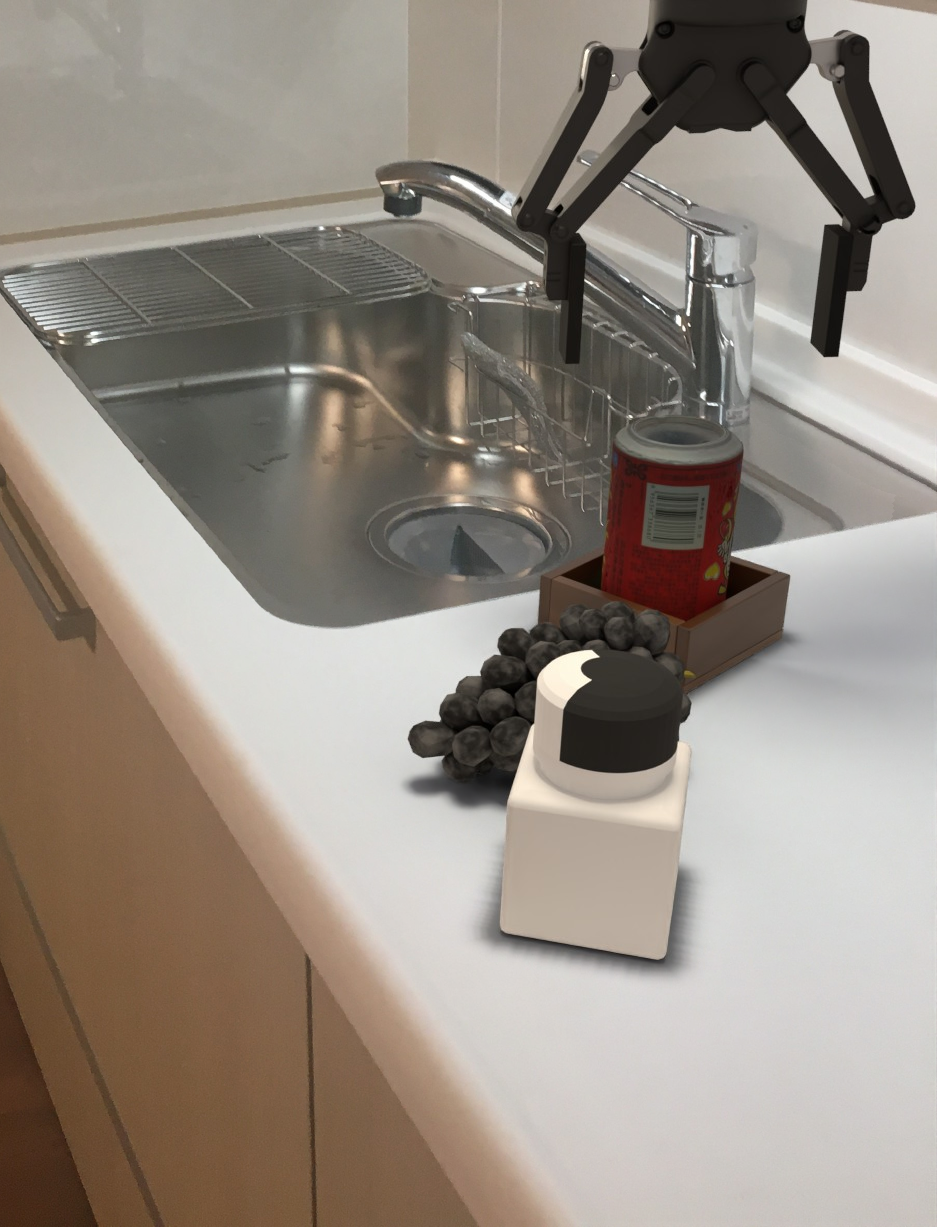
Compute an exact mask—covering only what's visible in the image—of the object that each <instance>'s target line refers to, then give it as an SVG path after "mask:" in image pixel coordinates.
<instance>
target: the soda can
mask: <svg viewBox="0 0 937 1227" xmlns="http://www.w3.org/2000/svg"><path fill="white" fill-rule="evenodd" d="M611 451H612V452H611V462H610V473H609V475H610V476H609V486H608V487H609V490H608V500H607V509H606V510H607V511H606V521H605V522H606V523H605V534H604V545H603V546H604V557H603V568H602V582H601V591H604V592H607V593H609V594H612V595H615V596H618V597H620V598H623V599H626V600H629V601H631V602H634V603H637V604H640V605H642V606H645V607H648V608H651V609H653V610H658V611H660V612H662V613H664V614H667V615H670V616H673V617H675V618H678V619H681V620H684V621H685V622H686V621H688V620H690V619H692V618H694V617H695V616H697V615H699V614H701V613H703V612H705V611H707V610H708V609H710V608H712V607H714V606H716V605H718V604H719V603H721V602H723V601H725V600H726V591H727V583H728V575H729V567H730V559H731V556H732V551H733V542H734V532H735V524H736V517H737V509H738V508H737V507H738V501H739V494H740V493H739V492H740V487H741V480H742V479H741V477H742V468H743V461H744V460H743V459H744V452H745V450H744V444H743V441H742V440H741V439H740V438H739V437H738V436H737V434H735V433H734V432H733V431H731V430H730V429H728V428H727V427H726V426H724V425H723V424H722V423H720V422H718V421H716V420H713V419H708V418H703V417H700V416H695V415H691V414H667V415H662V416H656V415H651V416H646V417H643V418H639V419H637V420H635V421H633V422H632V423H630V424H628V425H626V426H624V427H623V428H621V429H620V430H619V431H618V432H617V434H616V435H615V436H614V437H613V441H612V450H611Z"/></svg>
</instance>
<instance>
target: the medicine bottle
mask: <svg viewBox="0 0 937 1227" xmlns="http://www.w3.org/2000/svg"><path fill="white" fill-rule="evenodd" d="M682 702H683V688H682V685H681V683H680V682H679V681H678V679H677V678H676V677H675V676H674V674H673V673H672V672H671V671H670V670H669V669H668V668H666V667H665V666H663V665H662V664H660V663H658V662H656V661H654V660H652V659H649V658H647V657H644V656H641V655H637V654H633V653H629V652H624V651H617V650H585V651H578V652H573V653H569V654H566V655H563V656H561V657H558V658H556V659H555V660H553V661H552V662H551V663H549V664H548V665H547V666H546V667H545V668H544V669H543V670H542V671H541V672H540V674H539V676H538V678H537V692H536V707H535V721H534V724H533V725H532V726H531V728H530V731H529V734H528V738H527V741H526V744H525V747H524V750H523V754H522V757H521V760H520V763H519V766H518V770H517V773H515V777H514V779H513V783H512V785H511V789H510V792H509V796H508V797H507V798H508V799H507V800H506V801H507V804H506V816H505V835H504V850H503V851H504V852H503V864H502V866H503V868H502V884H501V898H500V900H501V901H500V915H499V927H500V930H501V931H502V932H503V933H505V934H509V935H514V936H520V937H525V938H530V939H531V938H532V939H537V940H543V941H548V942H552V943H553V942H554V943H559V944H560V943H561V944H565V945H571V946H576V947H577V946H578V947H583V948H588V949H594V950H599V951H604V952H606V951H607V952H612V953H617V954H623V955H629V956H633V957H634V956H635V957H639V958H645V959H651V960H658V961H659V960H661V959H664V958H665V956H666V954H667V951H668V944H669V937H670V929H671V924H672V923H671V922H672V917H673V916H672V915H673V907H674V901H675V894H676V885H677V879H678V872H679V864H680V855H681V847H682V838H683V830H684V821H685V812H686V806H687V805H686V804H687V797H688V796H687V795H688V786H689V779H690V768H691V762H692V761H691V760H692V753H693V751H692V748H691V745H690V744H689V743H688V742H685V741H680V740H679V741H678V737H679V738H680V727H681V723H680V720H681V711H682Z"/></svg>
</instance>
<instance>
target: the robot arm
mask: <svg viewBox="0 0 937 1227" xmlns="http://www.w3.org/2000/svg"><path fill="white" fill-rule="evenodd" d="M807 7H808V0H649V5H648V18H647V29H646V32H645V36H644V38H643V41H642V42H641V44H640V45H639V47H638V48H634V47H621V46H608V45H605V44H604V43H603V42H601V41H599V40H591V41H589V42H587V43H586V44H585V45H584V46H583V49H582V52H581V56H580V63H579V68H578V75H577V80H576V86H575V88H574V90H573V92H571V95H570V97H569V99H568V101H567V103H566V104H565V106H564V109H563V110H562V112H561V113H560V116H559V118H558V120H557V122H556V123H555V125H554V127H553V129H552V131H551V132H550V134H549V136H548V139H547V140H546V142H545V144H544V146H543V148H542V149H541V151H540V153H539V155H538V157H537V158H536V161H535V163H534V165H533V167H532V168H531V170H530V171H529V173H528V176H527V178H526V179H525V181H524V183H523V185H522V187H521V188H520V191H519V193H518V195H517V197H516V198H515V200H514V202H513V204H512V206H511V207H510V208H511V209H510V215H511V218H512V219H513V221H514V223H515V226H516V227H517V229H519V231H521V232H525V233H532V234H535V235H538V236H540V237H542V238H543V239H544V240H543V241H544V244H543V263H542V281H541V282H542V284H541V285H542V288H543V290H544V294H545V295H546V297H547V300H548V301H549V302H550V301H560V315H559V331H558V332H559V333H558V352H559V353H560V356H561V358H562V361H563V362H564V364H565V365H580V363H581V362H580V361H581V346H582V345H581V344H582V327H583V311H584V298H585V297H584V295H585V278H586V262H587V247H588V245H587V243H586V241H585V240H584V238H583V236H582V235H581V234H580V232H578V231H579V230H580V229H581V227H582V226H583V225H584V224H585V223H586V222H587V221H588V220H589V219H590V217H592V215H594V213H595V212H596V211H597V210H598V209H599V208H600V206H602V204H603V203H604V202H605V201H606V199H608V197H609V196H610V195H611V194H612V193H613V192H614V191H615V190H616V188H617V187H618V186H619V185H620V184H621V183H622V182H623V181H624V179H625V178H626V177H627V176H629V174H630V173H631V171H632V170H634V169H635V167H636V166H637V165H638V164H639V163H640V161H641V160H642V159H643V158H644V157H645V156H646V155H647V154H648V153H649V151H651V149H652V148H653V147H654V146H655V145H657V144H659V143H661V142H662V141H663V140H664V139H665V137H666V136H668V134H669V133H670V132H671V131H672V130H673V129H674V128H675V127H676V128H677V129H679V130H682V131H685V132H687V133H688V134H690V135H692V134H706V133H709V132H712V131H716V130H720V129H723V130H727V131H731V132H735V133H739V132H740V133H741V132H742V133H743V132H745V133H746V132H752V129H754V128H756V127H759V126H760V125H762V124H763V123H764V122H766V124H767V125H768V126H769V128H771V129H772V130H773V132H774V133H775V134H776V136H778V138H779V139H780V141H781V142H782V143H783V144H784V145H785V146H784V147H786V148H787V149H788V151H789V152H790V153H791V155H792V156H793V157H794V159H795V160H796V161H797V163H798V164H799V165H800V167H801V168H802V169H803V171H804V172H805V173H806V174H807V175H808V177H809V178H810V179H811V181H812V182H813V184H815V186H816V187H817V189H818V190H819V191H820V192H821V194H822V195H823V196H824V198H825V199H826V200H827V201H828V203H829V204H830V205H831V207H832V208H833V209H834V210H835V212H836V213H837V214H838V216H839V217H840V218H841V224H840V223H832V224H831V223H829V224H828V223H827V224H824V226H823V233H822V241H821V251H820V258H819V266H818V275H817V282H816V291H815V299H814V308H813V317H812V324H811V334H810V345H811V346H812V347H813V348H815V350H816V351H817V352H818V353H819V354H820V355H821V356H822V357H823V358H839V356H840V348H841V342H842V341H841V340H842V332H843V326H844V325H843V324H844V318H845V317H844V316H845V310H846V302H847V295H848V292H849V293H850V292H862V291H863V289H864V288H865V285H866V283H867V281H868V275H869V267H870V266H869V265H870V259H871V252H872V244H873V237H874V236H876V235H877V234H878V233H880V231H881V229H882V227H883V225H884V224H886V223H889V222H892V221H894V220H906V219H909V218H910V217H911V216H912V215H913V214H914V212H915V211H916V207H917V205H916V200H915V198H914V196H913V193H912V190H911V188H910V185H909V182H908V180H907V177H906V174H905V172H904V169H903V166H902V164H901V161H900V158H899V156H898V153H897V151H896V148H895V145H894V143H893V141H892V137H891V135H890V132H889V129H888V126H887V124H886V122H885V118H884V115H883V113H882V111H881V107H880V105H879V103H878V100H877V98H876V95H875V92H874V90H873V87H872V84H871V82H870V57H871V56H870V55H871V53H870V50H871V48H870V47H871V46H870V41H869V40H868V38H867V37H865V36H863V35H861V34H859V33H856V32H854V31H851V30H849V29H841V30H839V31H837V32H836V33H834V34H833V36H830V37H824V38H817V39H811V40H808V37H807V34H806V28H805V26H806V17H807V9H808V8H807ZM810 64H812V65H813V64H814V65H815V66H816V67H817V71H818V74H819V75H820V77H822V78H823V79H825V80H827V81H828V82H831V84H832V89H833V91H834V95H835V97H836V100H837V102H838V105H839V108H840V110H841V113H842V115H843V118H844V120H845V123H846V125H847V128H848V131H849V133H850V137H851V139H852V141H853V144H854V146H855V149H856V151H857V155H858V157H859V159H860V162H861V164H862V168H863V169H864V172H865V175H866V177H867V180H868V182H869V186H870V187H871V190H872V193H873V195H870V196H867V197H864V196H863V195H862V194H861V192H860V191H859V189H858V188H857V186H856V185H855V184H854V183H853V182H852V180H851V179H850V178H849V176H848V175H847V174H846V172H845V171H844V170H843V168H842V167H841V166H840V164H839V163H838V162H837V160H836V159H835V157H834V156H833V155H832V153H830V152H829V150H828V148H827V147H826V146H825V145H824V144H823V142H822V141H821V140H820V138H819V137H818V135H816V133H815V132H814V130H813V129H812V128H811V126H810V125H809V124H808V121H807V119H806V118H805V117H804V115H803V114H802V113H801V111H800V110H799V109H798V108H797V106H796V105H795V103H794V102H793V100H791V99H790V97H789V95H788V94H789V92H790V91H791V89H792V88H793V87H794V86H795V85H796V84H797V82H798V81H799V80H800V78H802V76H803V75H804V74H805V73H806V72H807V70H808V69H809V66H810ZM633 72H636V73H637V75H638V77H639V78H640V80H641V81H642V83H643V84H644V85H645V87H646V88H647V90H648V91H649V95H648V96H647V97H646V99H644V101H643V102H642V103H641V104H640V105H639V106H638V107H637V108H636V109H635V111H634V112H633V113H632V115H631V116H630V118H629V120H628V122H627V123H626V125H625V126H624V127H623V128H622V129H621V130H620V131H619V133H617V135H616V136H615V137H614V138H613V139H612V140H611V142H609V143H608V145H607V146H606V147H605V148H604V150H603V151H602V152H601V153H600V154H599V155H598V157H596V158H595V160H594V161H593V162H592V163H591V164H590V165H589V166H588V168H587V169H586V170H585V171H584V172H583V173H582V175H581V176H580V177H579V178H578V179H577V180H576V181H575V182H574V183H573V185H572V186H571V187H570V188H569V189H568V190H567V191H566V193H565V194H564V195H563V196H562V197H561V198H560V199H559V200H558V201H557V203H555V205H554V206H553V207H552V208H549V206H550V204H551V202H552V201H553V199H554V197H555V195H556V193H557V191H558V189H559V188H560V185H561V184H562V182H563V180H564V178H565V177H566V175H567V173H568V171H569V169H570V167H571V165H572V163H573V162H574V160H575V158H576V156H577V155H578V153H579V150H580V149H581V147H582V146H583V143H584V141H585V140H586V138H587V136H588V135H589V132H590V130H591V129H592V127H593V126H594V123H595V122H596V119H597V118H598V116H599V114H600V112H601V111H602V108H603V106H604V103H605V101H606V98H607V95H608V92H613V91H616V90H617V89H619V88H620V87H621V86H622V85H623V82H624V80H625V78H626V77H627V76H628V75H629V74H631V73H633Z"/></svg>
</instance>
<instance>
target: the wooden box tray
mask: <svg viewBox="0 0 937 1227" xmlns="http://www.w3.org/2000/svg"><path fill="white" fill-rule="evenodd" d="M603 557H604V545H601V546H599V547H598V548H595V549H593V550H592V551H591V550H590V551H588V552H587V553H585V554H583V555H581V556H578V557H577V558H574V559H573V560H571V561H570V560H569V561H567V562H566V563H564V564H562V565H560V566H557V567H555V568H554V569H551V570H549V571H547V572H545V573H542V574H541V575H540V581H539V597H538V611H537V624H538V623H545V622H550V623H552V624H554V625H556V626H558V627H559V628H560V629H561V627H560V624H559V618H560V616H561V613H562V611H563V610H565V609H566V608H567V607H569V606H570V605H577V604H583V605H585V606H587V607H589V608H590V609H597V608H598V609H599V610H601V609H602V607H603V606H604V605H605V604H608V603H611V602H615V601H618V602H625V603H626V604H627V605H628V606H630V607H631V608H632V609H633V612H634V615H635V618H636V617H637V616H638V615H639V614H641V613H642V612H643V611H645V610H646V609H647V610H653V609H651V608H648V607H645V606H642V605H640V604H637V603H634V602H631V601H629V600H626V599H623V598H620V597H618V596H615V595H612V594H609V593H607V592H604V591H601V582H602V568H603ZM790 584H791V574H789V573H787V572H783V571H780V570H777V569H774V568H772V567H768V566H764V565H762V564H759V563H756V562H752V561H749V560H747V559H743V558H740V557H738V556H734V555H731V559H730V567H729V575H728V583H727V591H726V600H725V601H723V602H721V603H719V604H718V605H716V606H714V607H712V608H710V609H708V610H707V611H705V612H703V613H701V614H699V615H697V616H695V617H694V618H692V619H690V620H688V621H686V622H685V621H684V620H681V619H678V618H675V617H673V616H670V615H667V614H664V613H662V612H661V613H662V614H663V615H665V616H666V617H667V618H669V622H670V638H669V641H668V644H667V647H666V649H665V650H664V651H663V652H669V653H674V654H675V655H677V656H679V658H680V659H681V660H682V661H683V662H684V664H685V671H690V672H691V673H693V674H694V675H695V677H696V678H690V677H684V679H683V681H682V682H680V683H681V685H682V688H683V692H684V693H686V694H688V693H689V692H691V691H694V690H695V689H697V688H698V687H701V685H704V684H705V683H707V682H709V681H711V680H712V679H713V678H715V677H717V676H719V675H720V674H722V673H724V672H726V671H727V670H729V669H731V668H732V667H734V666H736V665H738V664H739V663H741V662H743V661H745V660H746V659H748V658H749V657H751V656H753V655H755V654H757V653H758V652H760V651H762V650H764V649H766V648H767V647H768V646H770V645H772V644H774V643H776V642H777V641H779V640H780V639H782V638H783V637H784V636H783V635H784V626H785V618H786V613H787V612H786V611H787V606H788V598H789V597H788V596H789V591H790ZM561 630H562V629H561Z"/></svg>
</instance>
